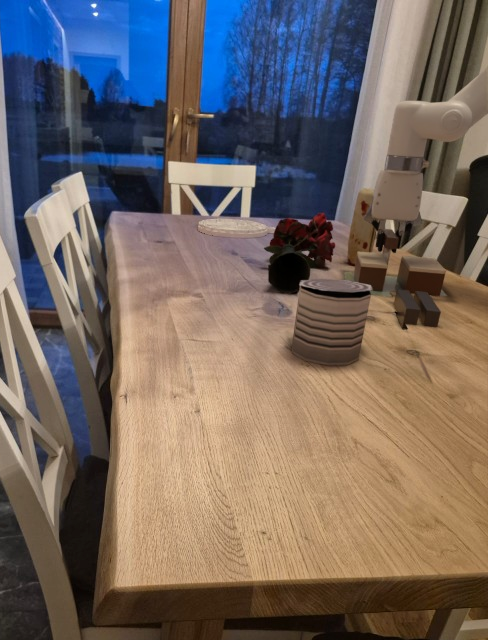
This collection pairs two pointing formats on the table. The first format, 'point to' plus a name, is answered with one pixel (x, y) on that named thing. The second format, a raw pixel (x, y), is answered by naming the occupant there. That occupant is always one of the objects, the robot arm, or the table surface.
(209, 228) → the medallion
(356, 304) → the can
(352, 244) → the food model
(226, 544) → the table surface
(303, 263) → the rose vase
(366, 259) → the cake slice
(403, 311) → the knife block
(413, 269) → the cake
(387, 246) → the knife
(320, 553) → the table surface
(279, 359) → the table surface
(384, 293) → the green flat square board
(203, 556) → the table surface
